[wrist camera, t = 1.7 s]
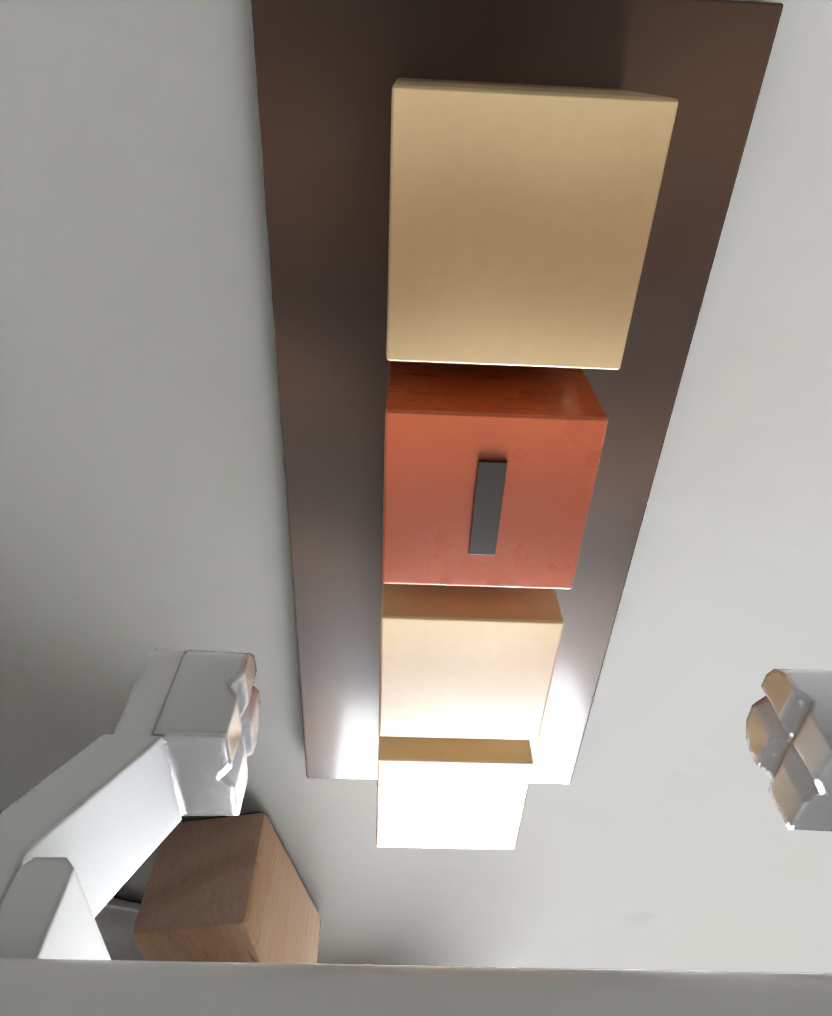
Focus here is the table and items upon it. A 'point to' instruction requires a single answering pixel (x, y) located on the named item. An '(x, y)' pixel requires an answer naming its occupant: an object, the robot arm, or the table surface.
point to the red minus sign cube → (487, 473)
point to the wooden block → (226, 897)
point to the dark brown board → (480, 341)
